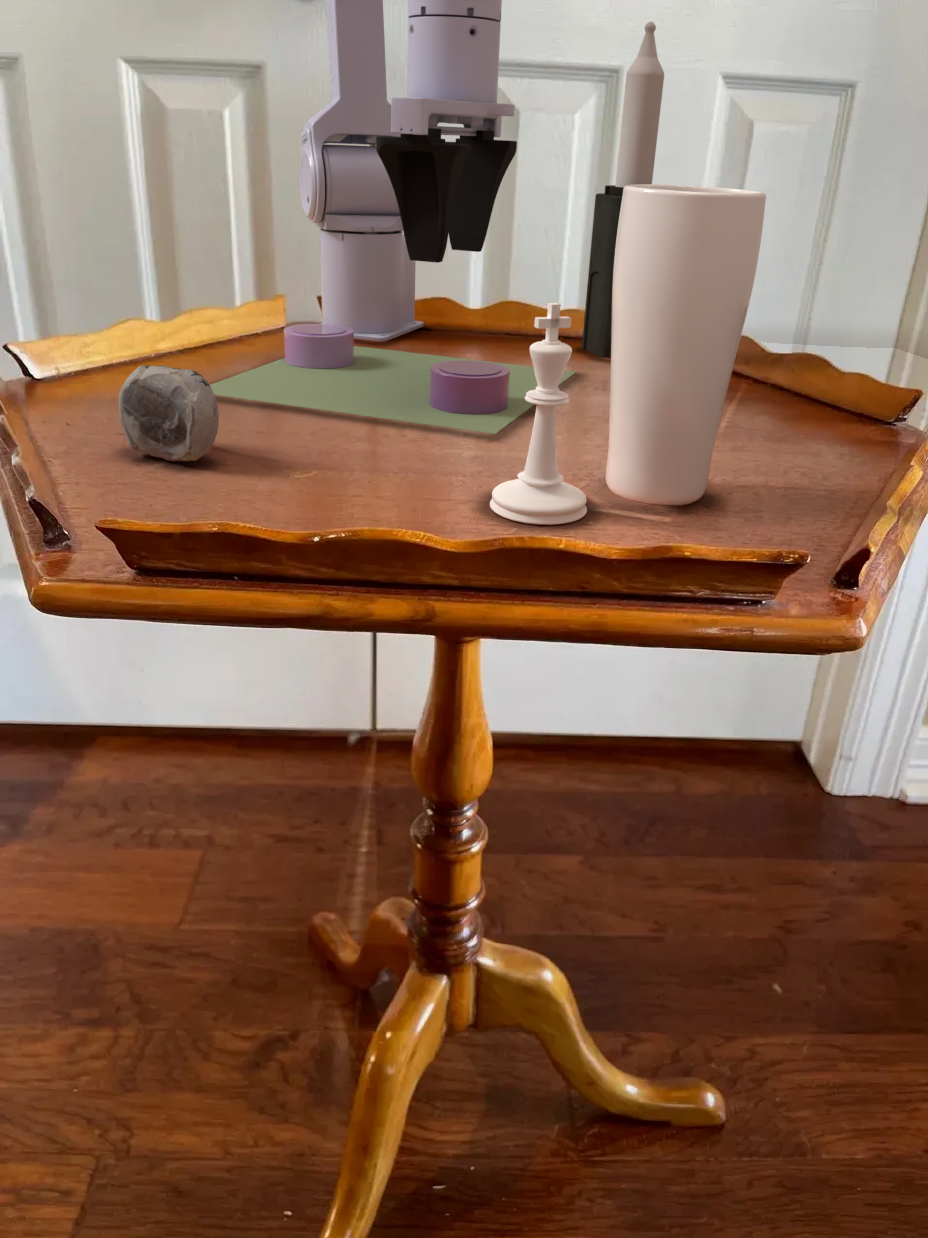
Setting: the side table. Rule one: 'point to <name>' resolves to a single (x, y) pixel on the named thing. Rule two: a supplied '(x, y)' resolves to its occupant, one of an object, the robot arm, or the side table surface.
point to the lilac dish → (319, 346)
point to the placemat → (376, 389)
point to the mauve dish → (469, 387)
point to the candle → (631, 169)
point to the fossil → (168, 412)
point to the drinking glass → (676, 332)
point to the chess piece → (543, 441)
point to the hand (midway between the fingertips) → (447, 255)
